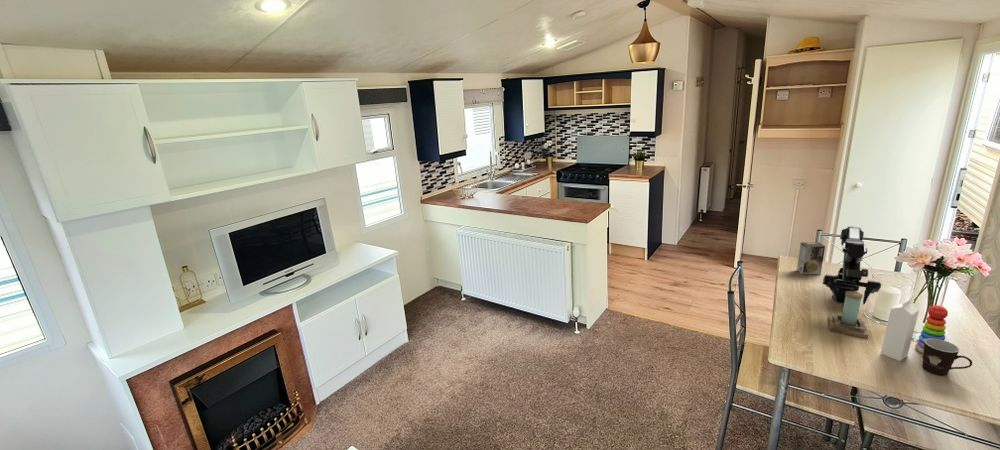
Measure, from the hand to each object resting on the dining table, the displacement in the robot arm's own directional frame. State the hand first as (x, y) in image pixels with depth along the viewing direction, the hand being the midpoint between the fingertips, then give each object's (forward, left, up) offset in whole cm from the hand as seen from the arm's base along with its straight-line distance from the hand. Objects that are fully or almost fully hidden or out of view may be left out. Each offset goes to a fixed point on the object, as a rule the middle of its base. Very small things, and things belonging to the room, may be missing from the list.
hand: (849, 302), depth 183 cm
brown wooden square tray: (+2, +6, -9) cm, 11 cm away
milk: (-6, +24, -9) cm, 26 cm away
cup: (+2, +6, -8) cm, 10 cm away
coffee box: (-2, -53, -9) cm, 54 cm away
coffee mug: (-15, +33, -9) cm, 37 cm away
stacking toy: (-19, +19, -9) cm, 28 cm away
